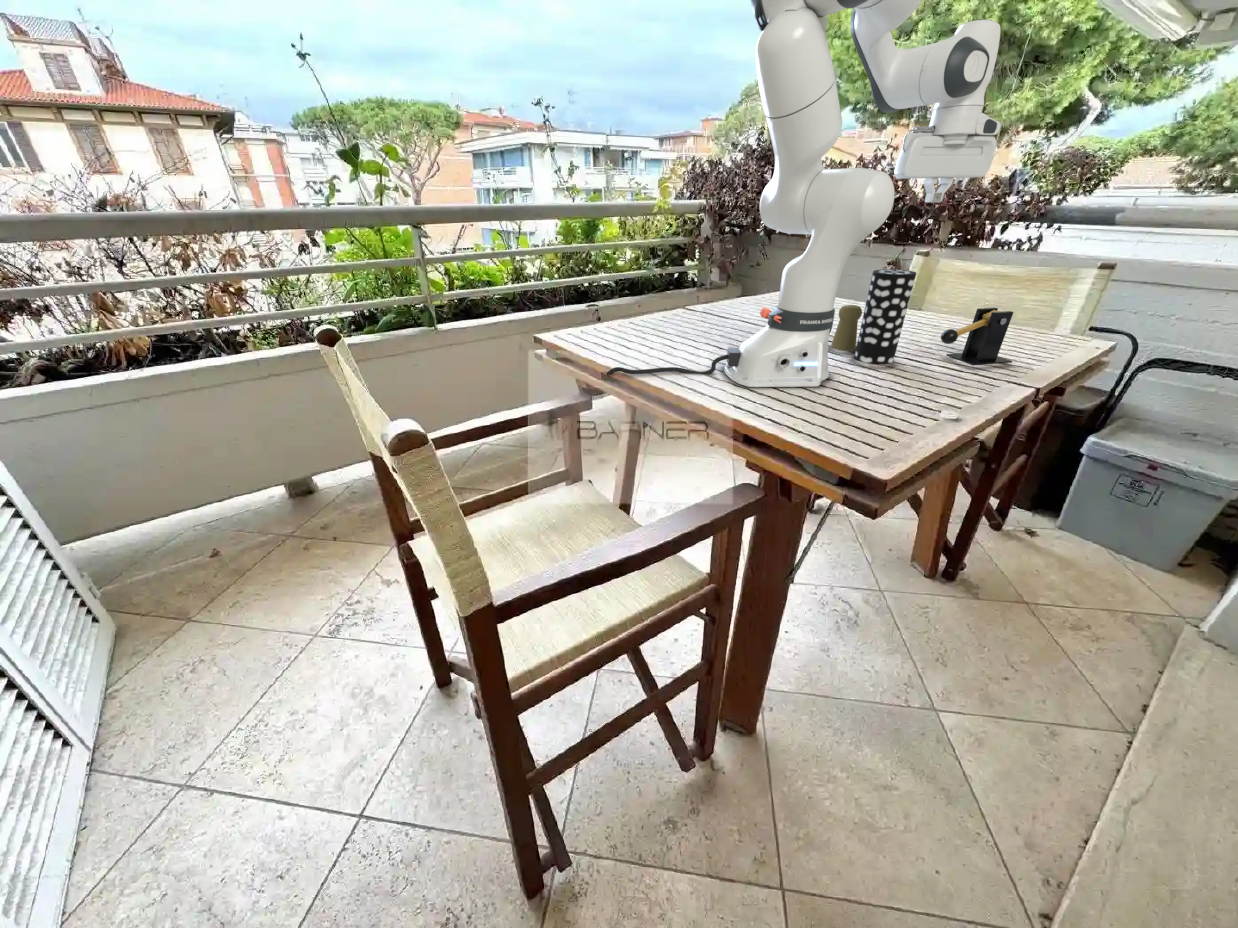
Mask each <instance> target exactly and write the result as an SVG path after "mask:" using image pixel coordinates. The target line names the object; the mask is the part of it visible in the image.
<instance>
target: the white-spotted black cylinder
mask: <svg viewBox="0 0 1238 928" xmlns="http://www.w3.org/2000/svg"><path fill="white" fill-rule="evenodd" d="M916 276H917V272H916V271H913V270H907V269H905V270H904V269H894V268H893V269H890V268H889V269H887V268H886V269H884V268H883V269H875V270H873V271H872V274H871V279H870V283H869V287H868V293H867V296H866V297H867V298H866V302H865V305H864V306H865V307H864V312H863V315H862V320H861V325H860V327H859V328H860V329H859V333H858V338H857V341H856V348H855V351H854V355H853V358H854V360H856V361H857V362H860V363H864V364H868V365H891V364H892V363H894V360H895V356H896V352H897V350H898V344H899V341H900V338H901V333H902V330H903V326H904V324H905V323H904V322H905V319H906V315H907V310H908V308H909V304H910V303H909V302H910V300H911V296H912V292H913V288H914V284H915V281H916Z"/></svg>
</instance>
